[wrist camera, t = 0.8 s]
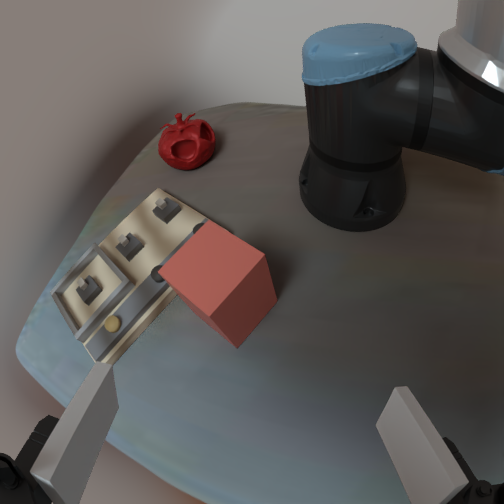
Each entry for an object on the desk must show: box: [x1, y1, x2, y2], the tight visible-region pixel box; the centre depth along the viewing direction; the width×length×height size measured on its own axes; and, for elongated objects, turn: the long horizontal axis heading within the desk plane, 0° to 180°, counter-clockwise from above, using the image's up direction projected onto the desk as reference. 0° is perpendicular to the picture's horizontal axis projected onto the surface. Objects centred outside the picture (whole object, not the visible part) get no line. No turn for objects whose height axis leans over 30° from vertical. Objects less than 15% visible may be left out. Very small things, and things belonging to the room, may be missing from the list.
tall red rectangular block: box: [158, 220, 277, 348], centre depth 30 cm, size 7×7×10 cm
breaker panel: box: [50, 188, 229, 366], centre depth 39 cm, size 24×16×4 cm, turn 140°
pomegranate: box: [158, 113, 216, 170], centre depth 48 cm, size 10×10×9 cm
